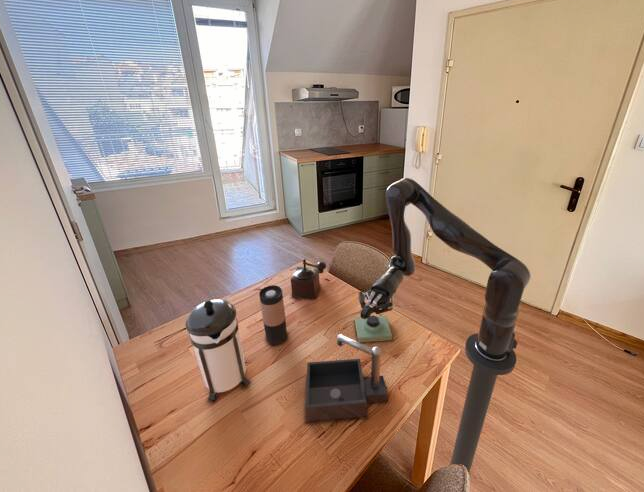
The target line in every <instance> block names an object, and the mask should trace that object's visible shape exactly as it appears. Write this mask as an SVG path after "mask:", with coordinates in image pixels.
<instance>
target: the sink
mask: <svg viewBox="0 0 644 492" xmlns="http://www.w3.org/2000/svg"><path fill="white" fill-rule="evenodd" d="M306 365H307V366H306V369H307V370H306V386H305V387H306V388H305V417H306V423H317V422H328V421H339V420H350V419H362V418H363V419H364V418H367V404H369V403H370V404H371V403H380V402H387V401H388V391H387V386H386V383H385V379H384V375H380V377H379V387H378V388H373V387H372V386H371V375H370V376H363V370H362V363H361V358H350V359H337V360H335V359H334V360H323V361H310V362H309V361H308V362H307V363H306Z"/></svg>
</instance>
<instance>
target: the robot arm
mask: <svg viewBox="0 0 644 492" xmlns="http://www.w3.org/2000/svg"><path fill="white" fill-rule="evenodd" d="M385 200H386V207H387V211H388V216H389V221H390V226H391V233H392V234H391V235H392V240H391V241H392V252H393V254H394V255H392V256H391V257H390V258H389V260H388V264H387V268H386V269H385V271H384V273H382V275H380V276H379V277H378V279H377V280H376V281H375V282H374V283H373V285H372V286H371V287H370V289H369V290H367V291H366V292H363V291H361V290H360V291H358V301H359V305H360V308H361V310H360V315H359V316H360V317H361V318H363V319H366V318H369V317H370V316H372V314H374V313H375V314H376V315H380V314H383V313H388V312H390V311H392V310H393V306H394V305H393V302H391V301H390V300H391V299H392V298H393V296H394V294H395V293H396V292H397V290H398V288H399V286H400V285H401V283H402V282H403V281H404V277H411V276H412V275H413V274H414V273H415V272H416V262H415V258H414V256H413V252H412V234H411V230H410V228H409V227H408V225H407V223H406V221H405V211H406V207H408V206H409V205H412V206H414V207H415V208H416V209H418V210H419V211H420V212H421V213H422V214H423V215H424V216H425V218H426V220H427V222H428V225H429V227H430V229H431V232H432V233H433V234H434V235H435V236H436V237H437V238H438V239H439V240H440V241H441V242H443V243H444V244H445V245H446V246H447V247H449V248H450V249H452V250H454V251H457V252H459V253H462V254H465V255H467V256H470V257H473V258H475V259H477V260H478V261H480V262H481V263H483V264H484V265H485V266H487V267H488V268H489V269H490V270H491V272H490V273H489V276H488V279H487V283H486V289H485V292H484V293H485V294H484V306H483V311H482V315H481V320H480V323H479V328H478V332H477V333H478V336H477V341H476V343H475V348H476V351H477V352H478V353H479V355H481V356H482V357H483V358H485V359H487V360H489V361H493V362H501V361H503V360H505V358H506V357H509V354H510V351H511V349H513V350H514V349H517V346H518V341H517V340H516V338H515V337H516V334H515V331H514V330H515V327H516V324H517V321H518V317H519V313H520V310H521V307H520V305H521V300H522V297H523V295H524V291H525V289H526V288H527V286H528V284H529V283H530V280H531V278H532V277H531V276H532V275H531V271H530V269H529V267H528V266H527V265H526V264H525V263H524V262H522V260H520V259H518V258H517V257H515V256H514V255H512V254H510V253H509V252H507V251H505V250H504V249H502V247H501V248H500V247H499V246H498V245H496V244H495V243H493V242H492V241H491V240H489V239H488V238H486V237H485V236H484V235H482V233H480V232H478V231H477V230H476V229H474V228H473V227H472V226H471V225H470V224H469V223H467V222H466V221H465V220H463V219H462V218H461V217H459V216H457V215H456V214H455V213H454V212H452V211H451V210H450V209H448V208H447V207H446V206H444V205H443V204H442V203H441V202H440V201H438V200H437V199H436V198H435V197H433V195H431V194H430V193H429V192H428V191H427V190H426V189H425V188H424V187H422V186H421V184H419V183H418V182H417V181H416V180H414V179H412V178H409V177H404V178H400V179H399V180H397V181H395V182H393V183H391V184H390V185H389V186H388V187H386V191H385ZM365 299H366V301H365Z"/></svg>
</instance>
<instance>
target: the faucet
mask: <svg viewBox="0 0 644 492" xmlns="http://www.w3.org/2000/svg"><path fill="white" fill-rule="evenodd" d="M344 344H345V345H348V346H350V347H353V348H355V349H356V350H359V351H361V352H363V353H365V354H367V355H370V356H371V365H370V366H371V368H370V376H371V386H372V387H373V388H378V387H379V377H380V376H381V375H380V374H381V358H382V357H381V356H382V350H381V348H380V347H379V346H373V347H372V346H368V345H367V344H364V343H363V342H358V340H355V339H352V338H350V337H349V336H346V335H344V334H342V333H339V334H338V335H337V336H336V345H337V346H338V347H342V346H344Z"/></svg>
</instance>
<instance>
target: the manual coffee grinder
mask: <svg viewBox="0 0 644 492" xmlns="http://www.w3.org/2000/svg"><path fill="white" fill-rule="evenodd" d="M302 265H303V266H297V267H296V268H295V270H294V272H293V274H292V276H291V277H290V286H291V295H292V296H291V297H292V298H294V299H301V300H315V299H316V298H317V296H318V293H319V291H320V286H321V284H320V283H321V282H320V274H324V270H325V269H326V268H327V264H326V262H324V261H321V260H320V261H318V262H317V264H313V263H309V262H307V259H306V258H303V259H302ZM307 266H309V267H307Z"/></svg>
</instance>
